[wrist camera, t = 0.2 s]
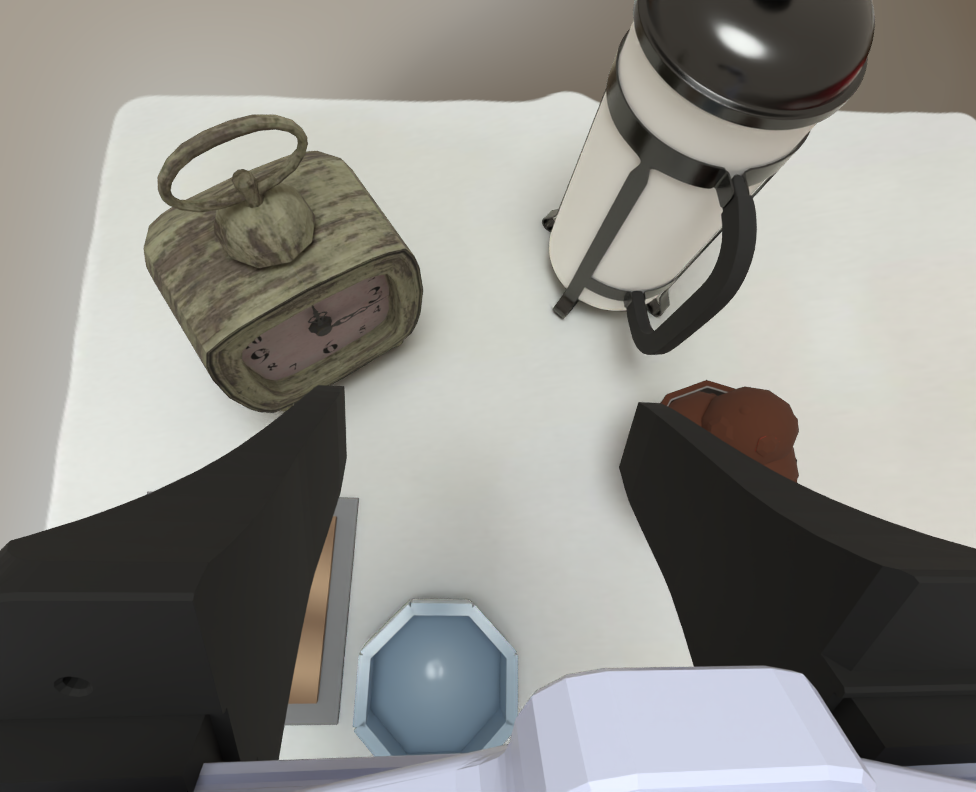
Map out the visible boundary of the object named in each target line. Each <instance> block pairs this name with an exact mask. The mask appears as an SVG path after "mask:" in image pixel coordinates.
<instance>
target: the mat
mask: <svg viewBox="0 0 976 792" xmlns="http://www.w3.org/2000/svg"><path fill="white" fill-rule="evenodd" d="M149 493H152V492H147V494H149ZM358 500H359V499H358V498H339V499H338V502H337V506H336V509H335V512H334V515H333V516H336V517H337V522H336V531H335V541H334V551H333V561H332V570H331V580H330V590H329V600H328V609H327V619H326V629H325V638H324V648H323V658H322V668H321V677H320V687H319V697H318V702H317V703H316V704H288V708H287V714H286V719H285V725H337V724H338V718H339V707H340V696H341V685H342V674H343V663H344V652H345V642H346V631H347V620H348V609H349V598H350V587H351V576H352V565H353V554H354V543H355V533H356V522H357V511H358Z"/></svg>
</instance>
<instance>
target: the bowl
mask: <svg viewBox="0 0 976 792" xmlns="http://www.w3.org/2000/svg"><path fill="white" fill-rule="evenodd" d="M517 716H518V655H517V654H516V650H515V649H514V648H513V647H512V646H511V645H510V644H509V642H508V641H507V640H506V639H505V638H504V637H503V636H502V635H501V633H500V632H499V631H498V630H497V629H496V628H495V627H494V626H493V625H492V623H491V622H490V621H489V620H488V619H487V618H486V617H485V616H484V614H483V613H482V612H481V611H480V610H479V609H478V608H477V607H476V605H475V604H474V603H473V602H472V601H471V602H470V601H469V599H444V598H436V599H412V602H411V601H410V600H409V601H408V602H407V603H406V604H405V605H404V606H403V607H402V608H401V609H400V610H399V611H398V612H397V613H396V614H395V615H394V616H393V617H392V618H391V619H389V620H388V622H387V623H386V624H385V625H384V626H383V627H382V628H381V629H380V630H379V631H378V632H377V633H376V634H375V635H374V636H373V637H372V638H371V639H370V640H369V641H368V642H367V643H366V644H365V645H364V647H363V649H362V650H361V653H360V654H359V659H358V671H357V683H356V694H355V706H354V718H353V727H355V729H354V732H355V733H356V734H357V736H358V737H359V738H360V739H361V741H362V742H363V743H364V744H365V745H366V747H367V748H368V749H369V750H370V752H371V753H372V754H373V755H374V756H375V757H378V756H405V755H432V754H458V753H470V752H474V751H479V750H483V749H488V748H492V747H497V746H502V745H503V744H504V743H505V741H506V740H507V739H508V738H509V737H510V736H511V734H512V731H513V727H514V723H515V719H516V717H517Z"/></svg>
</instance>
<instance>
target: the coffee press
mask: <svg viewBox="0 0 976 792" xmlns="http://www.w3.org/2000/svg"><path fill="white" fill-rule="evenodd" d="M874 28H875V16H874V8H873V3H872V0H634V7H633V23H632V26H631V28H630V29H629V30H628V31H627V33H626V34H625V36H624V37H623V39H622V41H621V43H620V46H619V48H618V51H617V53H616V56H615V59H614V61H613V64H612V66H611V70H610V72H609V75H608V79H607V86H606V90H605V92H604V95H603V97H602V100H601V103H600V105H599V108H598V110H597V113H596V115H595V118H594V121H593V123H592V126H591V128H590V131H589V133H588V136H587V138H586V141H585V144H584V146H583V149H582V151H581V154H580V156H579V159H578V162H577V164H576V167H575V169H574V172H573V174H572V177H571V179H570V182H569V185H568V187H567V190H566V192H565V195H564V197H563V200H562V202H561V205H560V207H559V209H557V210H552V211H551V212H550V213H549V214H548V215H547V216H546V217H545V218H544V219H543V220H542V224H543V226H544V228H545V229H546V230H548V231H550V232H551V236H550V241H549V254H550V259H551V263H552V266H553V269H554V271H555V273H556V275H557V277H558V279H559V280H560V281H561V283H562V284H563V285H564V287H565V288H566V291H565V293H564V294H563V295H562V297H561V298H560V300H559V301H558V302H557V304H556V305H555V306H554V308H553V310H554V311H555V312H556V313H557V314H558V315H560V316H561V317H562V318H563V319H564V318H565V317H566V316H567V315H568V313H569V312H570V311H571V310H572V309H573V307H574V306H575V305H576V303H577V302H578V301H579V300H581V301H583V302H585V303H587V304H589V305H591V306H593V307H596V308H600V309H604V310H613V311H621V310H626V311H627V317H628V322H629V327H630V331H631V334H632V338H633V340H634V343H635V345H636V347H637V348H638V349H639V350H640V351H641V352H642V353H644V354H647V355H658V354H665V353H667V352H669V351H671V350H672V349H674V348H675V347H677V346H678V345H679V344H681V343H682V342H683V341H685V340H686V339H687V338H688V337H690V336H691V335H692V334H693V333H694V332H696V331H697V330H698V329H699V328H701V327H702V326H703V325H704V324H705V323H707V322H708V321H709V320H710V319H711V318H713V317H714V316H715V315H716V314H717V313H718V312H719V311H720V310H722V309H723V308H724V307H725V306H726V305H727V304H728V303H729V301H730V300H731V299H732V298H733V297H734V295H735V294H736V292H737V291H738V290H739V288H740V286H741V285H742V283H743V281H744V279H745V277H746V275H747V272H748V270H749V267H750V265H751V262H752V258H753V254H754V250H755V244H756V232H757V223H756V211H755V205H754V201H753V197H754V196H755V195H756V194H757V193H758V192H759V191H760V190H761V189H762V188H763V187H764V185H765V184H766V183H767V182H768V181H769V180H770V179H771V178H772V177H773V176H774V175H775V174H776V173H777V171H778V170H779V169H780V168H781V167H782V166H783V165H784V164H785V163H786V162H787V161H788V160H789V158H790V157H791V156H792V155H793V154H794V153H795V152H796V151H797V150H798V149H799V148H800V147H801V145H802V144H803V143H804V142H805V140H806V138H807V137H808V135H809V133H810V130H811V129H812V128H813V127H814V126H815V125H816V124H817V123H818V122H821V121H823V120H825V119H826V118H828V117H830V116H831V115H833V114H834V113H835V112H837V111H838V110H839V109H840V108H841V107H842V106H843V105H844V104H845V103H846V102H847V101H848V100H849V99H850V97H851V96H852V95H853V94H854V93H855V92H856V90H857V89H858V87H859V86H860V84H861V82H862V80H863V77H864V74H865V71H866V67H867V60H868V54H869V52H870V49H871V46H872V42H873V37H874ZM765 179H766V180H765ZM764 180H765V182H764V183H763V184H762V182H763V181H764ZM761 184H762V185H761ZM760 185H761V186H760ZM759 186H760V187H759ZM758 187H759V188H758ZM757 188H758V189H757ZM756 189H757V190H756ZM755 190H756V191H755ZM754 191H755V192H754ZM753 192H754V193H753ZM752 193H753V195H751V194H752ZM556 216H557V218H556V220H555V221H554V220H553V218H554V217H556ZM721 227H722V228H721ZM720 228H721V229H720ZM719 229H720V230H719ZM718 230H719V232H718ZM717 232H718V233H717ZM721 232H722V244H721V249H720V253H719V257H718V260H717V262H716V265H715V267H714V269H713V271H712V273H711V275H710V276H709V278H708V279H707V280H706V282H705V283H704V284H703V285H702V286H701V287H700V288H699V289H698V290H697V291H696V292H695V293H694V294H693V295H692V296H691V297H690V298H689V299H688V300H687V301H686V302H685V303H683V304H682V305H681V306H680V307H679V308H678V309H677V310H676V311H675V312H674V313H673V314H672V315H671V316H670V317H669V318H668V319H667V320H666V321H665V322H664V323H663V324H661V325H660V326H659V327H658V328H657V329H656V330H655V331H654V330H653V329H652V327H651V325H650V322H649V319H648V314H647V309H648V311H649V312H650V313H651V314H652V315H654V316H657V317H659V316H661V315H662V314H663V313H664V311H665V310H666V309H667V308H668V307H669V296H668V290H669V288H670V287H671V286H672V285H673V283H674V282H675V281H676V280H677V279H678V278H679V277H680V276H681V275H682V274H683V273H684V272H685V271H686V269H687V268H688V267H689V266H690V265H691V264H692V263H693V262H694V261H695V260H696V259H697V258H698V257H699V255H700V254H701V253H702V252H703V251H704V250H705V249H706V248H707V247H708V246H709V245H710V244H711V243H712V241H713V240H714V239H715V238H716V237H717V236H718V235H719V234H720V233H721ZM716 233H717V234H716ZM715 234H716V235H715ZM714 235H715V236H714ZM713 236H714V237H713ZM712 237H713V238H712ZM711 238H712V239H711ZM710 239H711V240H710ZM709 240H710V241H709ZM708 241H709V242H708ZM707 242H708V244H707ZM706 244H707V245H706ZM705 245H706V246H705ZM704 246H705V247H704ZM703 247H704V248H703ZM702 248H703V249H702ZM701 249H702V250H701ZM700 250H701V251H700ZM699 251H700V252H699ZM698 252H699V253H698ZM697 253H698V254H697ZM696 254H697V255H696ZM695 256H696V257H695ZM694 257H695V258H694ZM693 258H694V259H693ZM692 259H693V260H692ZM691 260H692V261H691ZM690 261H691V262H690ZM689 262H690V263H689ZM688 263H689V264H688ZM687 264H688V265H687ZM686 265H687V266H686ZM685 266H686V267H685ZM684 268H685V269H684ZM683 269H684V270H683ZM682 270H683V271H682ZM681 271H682V272H681ZM680 272H681V273H680ZM679 273H680V274H679ZM678 274H679V275H678ZM677 275H678V276H677ZM676 276H677V277H676ZM675 277H676V278H675ZM674 278H675V279H674ZM673 279H674V280H673ZM672 280H673V281H672ZM663 291H664V292H663ZM662 292H663V293H662ZM660 293H662V295H661V296H660V299H659V303H660V305H659V304H658V303H657V301H656V297H657V296H658V295H659V294H660ZM646 306H647V309H646Z"/></svg>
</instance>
